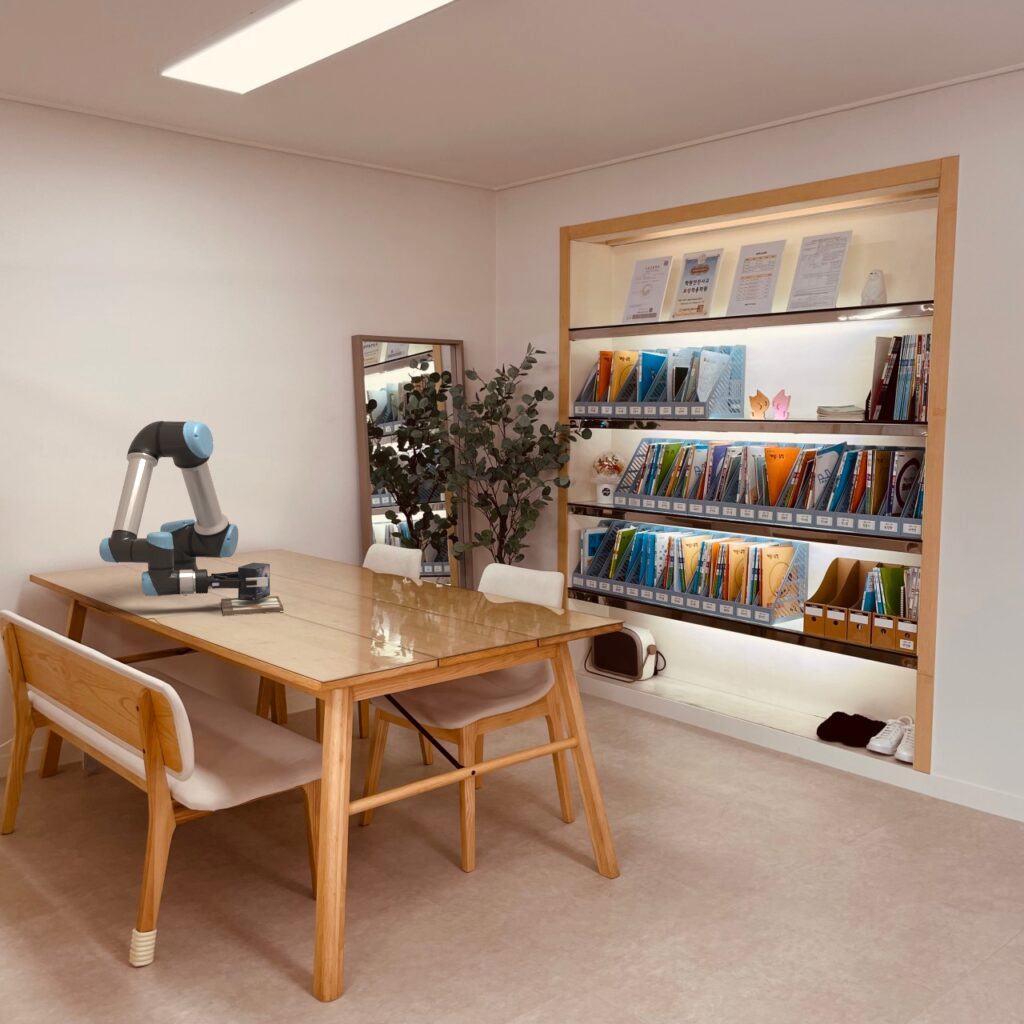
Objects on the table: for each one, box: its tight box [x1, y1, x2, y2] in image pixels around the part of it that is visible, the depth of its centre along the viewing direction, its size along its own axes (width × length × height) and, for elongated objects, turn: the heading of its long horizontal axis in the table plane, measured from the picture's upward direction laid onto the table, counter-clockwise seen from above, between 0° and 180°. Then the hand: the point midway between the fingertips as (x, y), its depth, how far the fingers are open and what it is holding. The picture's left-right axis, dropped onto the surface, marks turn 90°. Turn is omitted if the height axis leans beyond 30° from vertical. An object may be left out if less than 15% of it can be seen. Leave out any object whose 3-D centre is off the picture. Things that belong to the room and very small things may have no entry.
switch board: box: [220, 595, 284, 616], centre depth 331 cm, size 20×18×2 cm
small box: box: [237, 562, 271, 601], centre depth 330 cm, size 11×6×10 cm, turn 168°
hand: (266, 578), depth 331 cm, fingers closed on small box, 12 cm apart
